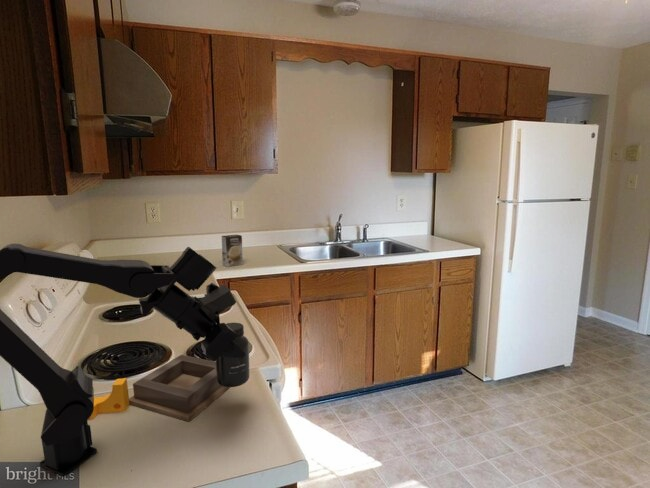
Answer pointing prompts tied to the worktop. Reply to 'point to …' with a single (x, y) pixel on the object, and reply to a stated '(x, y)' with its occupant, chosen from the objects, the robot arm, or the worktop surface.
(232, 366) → the supplement bottle
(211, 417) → the worktop surface
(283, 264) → the worktop surface
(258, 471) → the worktop surface
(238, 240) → the coffee box
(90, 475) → the worktop surface
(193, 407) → the grey-brown square frame
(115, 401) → the orange notched part
